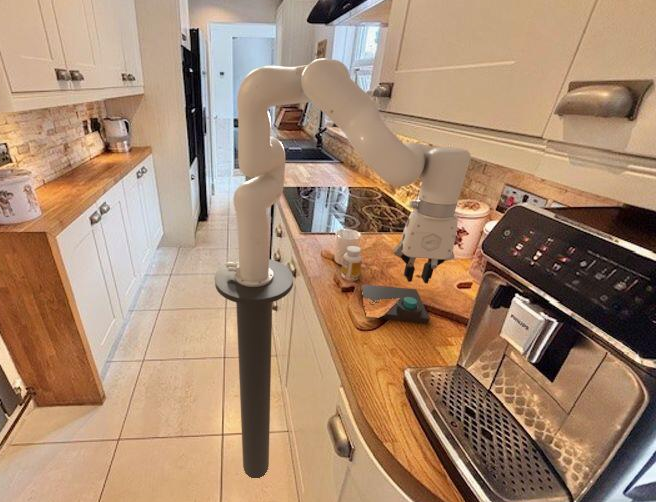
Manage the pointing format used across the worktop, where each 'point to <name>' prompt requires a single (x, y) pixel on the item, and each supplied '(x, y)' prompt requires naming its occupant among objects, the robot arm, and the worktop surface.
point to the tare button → (410, 303)
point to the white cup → (345, 242)
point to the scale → (398, 310)
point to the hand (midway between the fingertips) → (416, 279)
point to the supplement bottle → (352, 263)
